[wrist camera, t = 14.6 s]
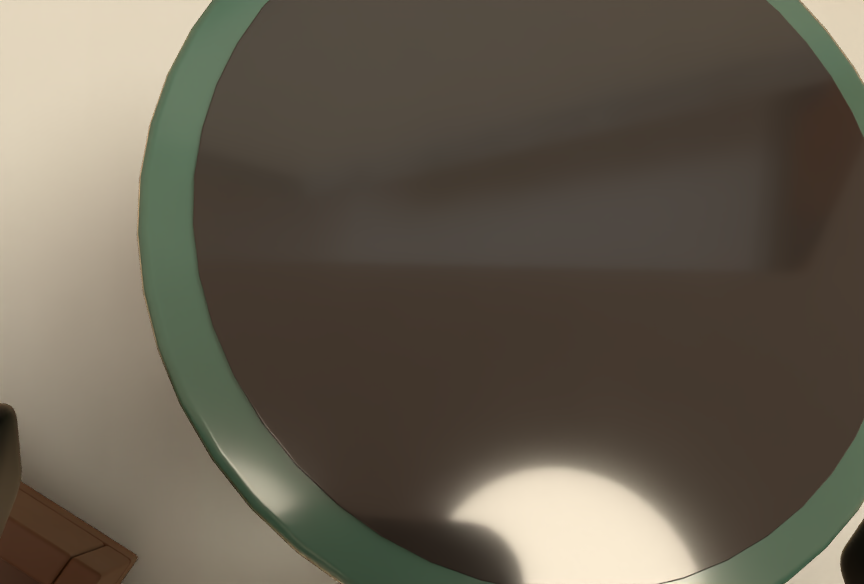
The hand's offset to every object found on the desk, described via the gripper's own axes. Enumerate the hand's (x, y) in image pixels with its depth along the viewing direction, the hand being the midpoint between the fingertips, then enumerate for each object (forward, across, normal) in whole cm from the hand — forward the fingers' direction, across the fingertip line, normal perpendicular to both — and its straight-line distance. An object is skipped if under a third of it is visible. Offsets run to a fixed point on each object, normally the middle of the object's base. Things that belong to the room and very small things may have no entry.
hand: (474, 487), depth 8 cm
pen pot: (+8, 0, +5) cm, 10 cm away
